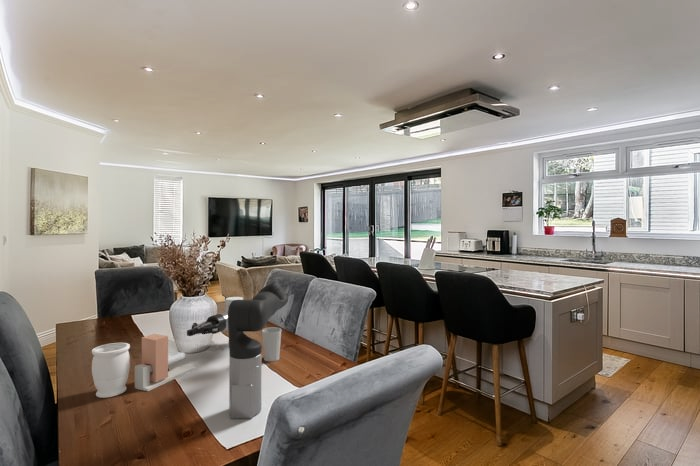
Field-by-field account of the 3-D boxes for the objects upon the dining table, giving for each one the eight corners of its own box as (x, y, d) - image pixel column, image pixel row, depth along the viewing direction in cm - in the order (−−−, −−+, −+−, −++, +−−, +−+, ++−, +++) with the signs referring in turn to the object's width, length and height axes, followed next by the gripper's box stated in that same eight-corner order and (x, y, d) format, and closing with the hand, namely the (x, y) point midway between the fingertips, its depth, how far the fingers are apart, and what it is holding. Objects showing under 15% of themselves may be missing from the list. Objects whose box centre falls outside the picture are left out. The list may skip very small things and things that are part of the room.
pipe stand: (184, 366, 144) (184, 347, 144) (196, 368, 142) (196, 349, 142) (134, 388, 124) (134, 366, 124) (147, 391, 122) (147, 369, 122)
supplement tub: (247, 323, 206) (247, 297, 206) (233, 327, 198) (234, 300, 197) (234, 321, 211) (234, 295, 210) (221, 325, 203) (221, 298, 202)
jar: (123, 382, 129) (123, 340, 128) (135, 391, 122) (135, 346, 122) (87, 393, 121) (87, 347, 120) (98, 403, 114) (97, 355, 114)
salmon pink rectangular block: (154, 373, 133) (154, 333, 133) (168, 376, 131) (168, 336, 130) (141, 378, 128) (141, 337, 128) (155, 382, 126) (155, 340, 126)
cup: (276, 363, 149) (277, 333, 148) (258, 361, 150) (258, 332, 150) (284, 356, 156) (284, 328, 156) (266, 354, 158) (266, 326, 158)
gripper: (208, 312, 161) (175, 321, 145) (232, 315, 156) (201, 325, 140) (208, 329, 162) (175, 340, 146) (232, 332, 157) (201, 345, 141)
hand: (188, 333), depth 143 cm, fingers closed
